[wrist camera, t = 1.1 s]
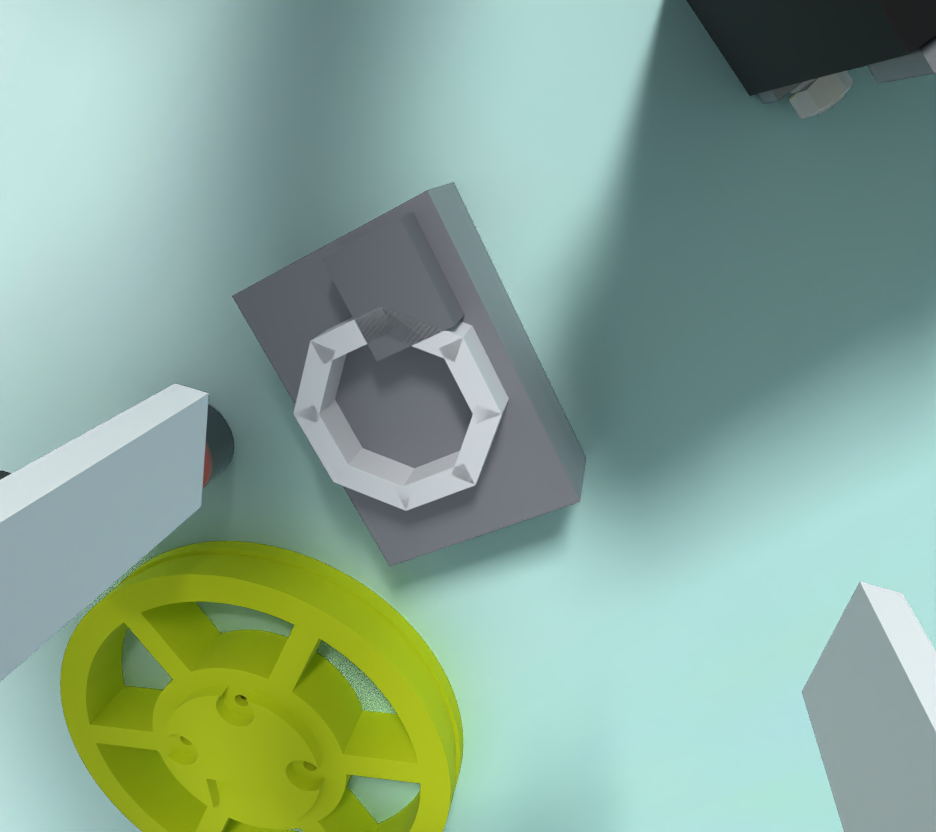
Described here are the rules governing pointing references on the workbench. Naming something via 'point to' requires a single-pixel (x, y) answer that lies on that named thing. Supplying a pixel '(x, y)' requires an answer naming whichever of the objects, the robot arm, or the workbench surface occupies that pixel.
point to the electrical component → (819, 44)
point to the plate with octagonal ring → (418, 379)
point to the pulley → (257, 699)
